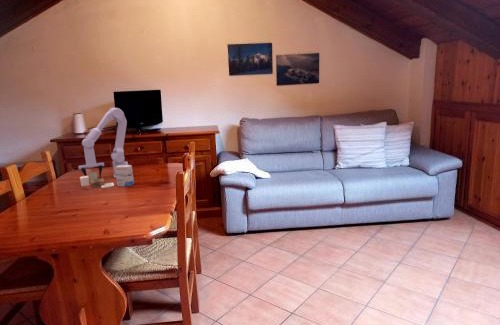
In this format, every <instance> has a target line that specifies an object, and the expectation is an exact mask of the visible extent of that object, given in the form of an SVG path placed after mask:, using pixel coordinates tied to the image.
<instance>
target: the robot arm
mask: <svg viewBox="0 0 500 325" xmlns="http://www.w3.org/2000/svg"><path fill="white" fill-rule="evenodd" d="M112 120H113V121H114V120H115V121H116V122H117V129H116V136H115V143H114V148H113V149H112V150H113V151H112V152H111V154H110V158H111V160H112V168H113V177H114V178H115V179H116V172H115V167H116V166H118V165H129V163H128V161H127V160H126V161H125V155H124V153H125V150H124V145H125V137H126V131H127V125H128V124H127V123H128V121H127V119H126V116H125V113H124V111H123V110H122V109H120V108H119V107H110V108H109V109H108V111H107V112H106V113H105V114H104V115H103V116H102V118H101V119H100V121H99V123H98V124H97V126H96V127H93V128H90V129H89V131H90V132H89V133H88V134H87V135H85V138H83V140H82V141H81V145H82V146H83V152H84V159H85V164H83V165H78V170H80V171H81V172H82V174H83V176H88V175H87V169H91V168H97V167H98V171H99V172H98V173H99V174H98V175H99V179H102V173H103V172H102V171H103V167H104V166H105V163H104V162H97V159H96V154H95V149H94V148H95V147H94V146H95V142H97V140H98V139H99V137H100V136H101V134H102V130H103V129H104V127H105V126H107V124H108V123H109V122H110V121H112Z"/></svg>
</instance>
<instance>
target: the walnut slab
mask: <svg viewBox="0 0 500 325" xmlns="http://www.w3.org/2000/svg"><path fill="white" fill-rule="evenodd" d="M90 184H91V188H92V189H94V188H101V186H103V185H105V184H106V183H105V179H104V178H98V179H96V180H91V182H90Z"/></svg>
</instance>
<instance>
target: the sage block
mask: <svg viewBox="0 0 500 325" xmlns="http://www.w3.org/2000/svg"><path fill="white" fill-rule="evenodd" d="M88 177H89V183H91V180H96V179H99V178H98V172H97V171H93V172H89V173H88Z"/></svg>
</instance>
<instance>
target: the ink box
mask: <svg viewBox="0 0 500 325" xmlns="http://www.w3.org/2000/svg"><path fill="white" fill-rule="evenodd" d="M115 172H116V178H115V179H116V185H117V187H133V185H135V179H134V173H133V172H134V171H133V165H131V164H128V165H118V166H116V167H115Z"/></svg>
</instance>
